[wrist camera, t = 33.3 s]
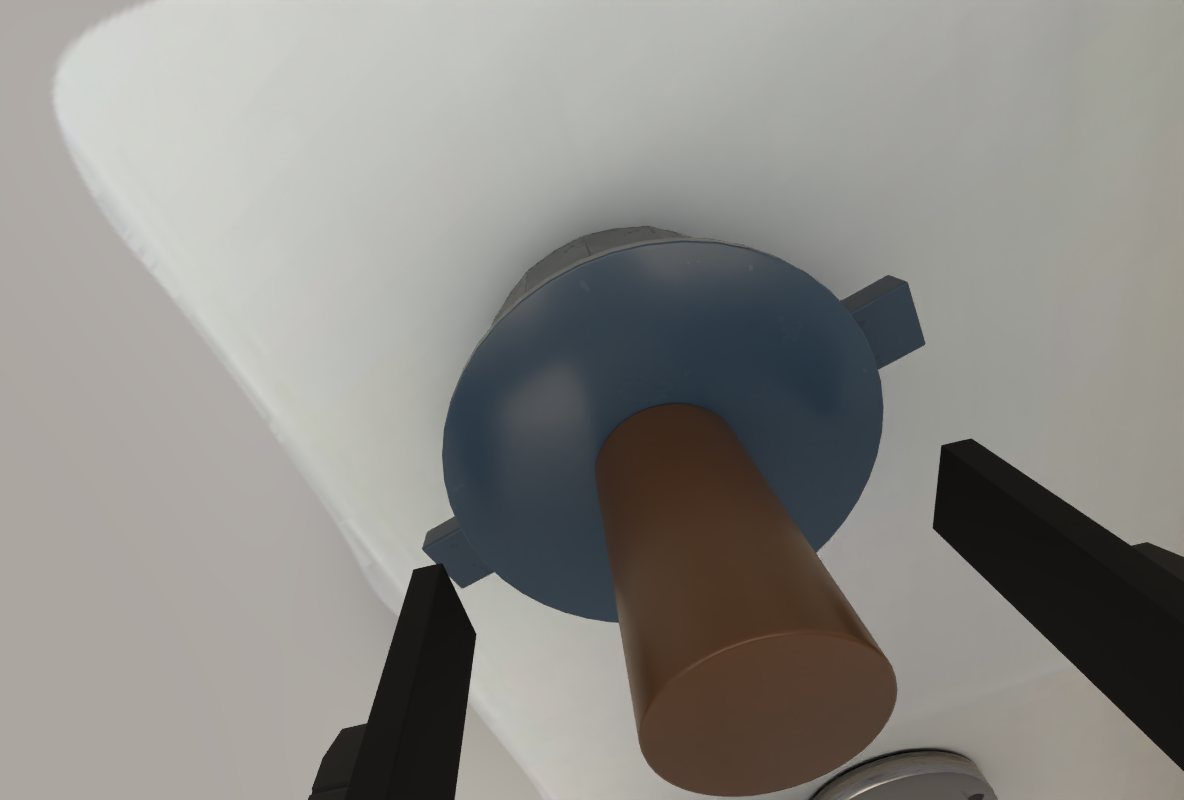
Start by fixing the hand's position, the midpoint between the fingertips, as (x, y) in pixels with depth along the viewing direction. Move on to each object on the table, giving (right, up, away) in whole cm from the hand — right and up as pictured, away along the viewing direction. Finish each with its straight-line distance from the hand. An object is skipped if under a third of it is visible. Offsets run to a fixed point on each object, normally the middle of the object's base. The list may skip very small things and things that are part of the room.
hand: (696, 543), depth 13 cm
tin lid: (0, +2, +3) cm, 4 cm away
